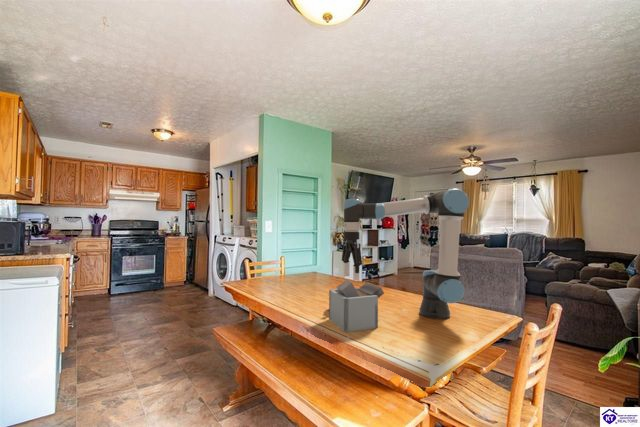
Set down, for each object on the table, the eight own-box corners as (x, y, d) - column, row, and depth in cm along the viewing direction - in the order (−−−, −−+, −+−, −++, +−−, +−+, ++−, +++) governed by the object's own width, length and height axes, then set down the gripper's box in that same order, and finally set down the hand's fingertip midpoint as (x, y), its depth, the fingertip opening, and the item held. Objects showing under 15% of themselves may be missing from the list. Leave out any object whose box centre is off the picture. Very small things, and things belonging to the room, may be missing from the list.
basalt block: (354, 295, 147) (346, 280, 145) (360, 298, 141) (351, 282, 140) (345, 302, 145) (336, 287, 143) (350, 305, 139) (341, 290, 138)
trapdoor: (369, 287, 154) (366, 281, 154) (384, 293, 141) (381, 287, 141) (343, 307, 149) (339, 301, 148) (356, 315, 136) (352, 309, 135)
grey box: (358, 315, 154) (358, 287, 155) (377, 327, 137) (377, 295, 137) (329, 319, 148) (329, 289, 149) (345, 332, 131) (345, 298, 132)
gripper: (335, 230, 153) (334, 274, 152) (355, 232, 132) (355, 283, 131) (348, 230, 155) (348, 273, 155) (370, 232, 135) (369, 281, 134)
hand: (351, 278), depth 143 cm, fingers open, 9 cm apart
